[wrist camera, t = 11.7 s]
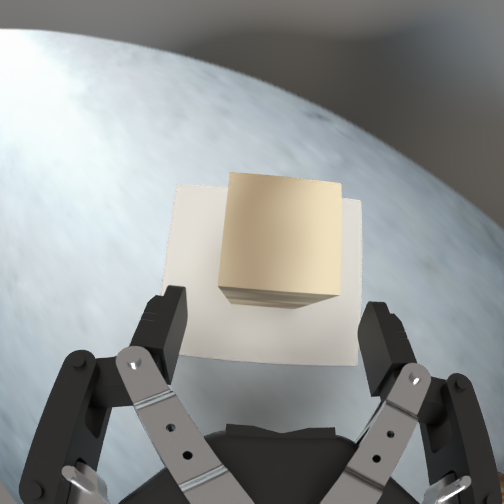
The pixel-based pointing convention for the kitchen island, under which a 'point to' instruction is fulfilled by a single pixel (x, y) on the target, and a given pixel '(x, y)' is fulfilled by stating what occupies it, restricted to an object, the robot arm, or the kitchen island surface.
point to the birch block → (281, 241)
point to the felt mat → (256, 317)
